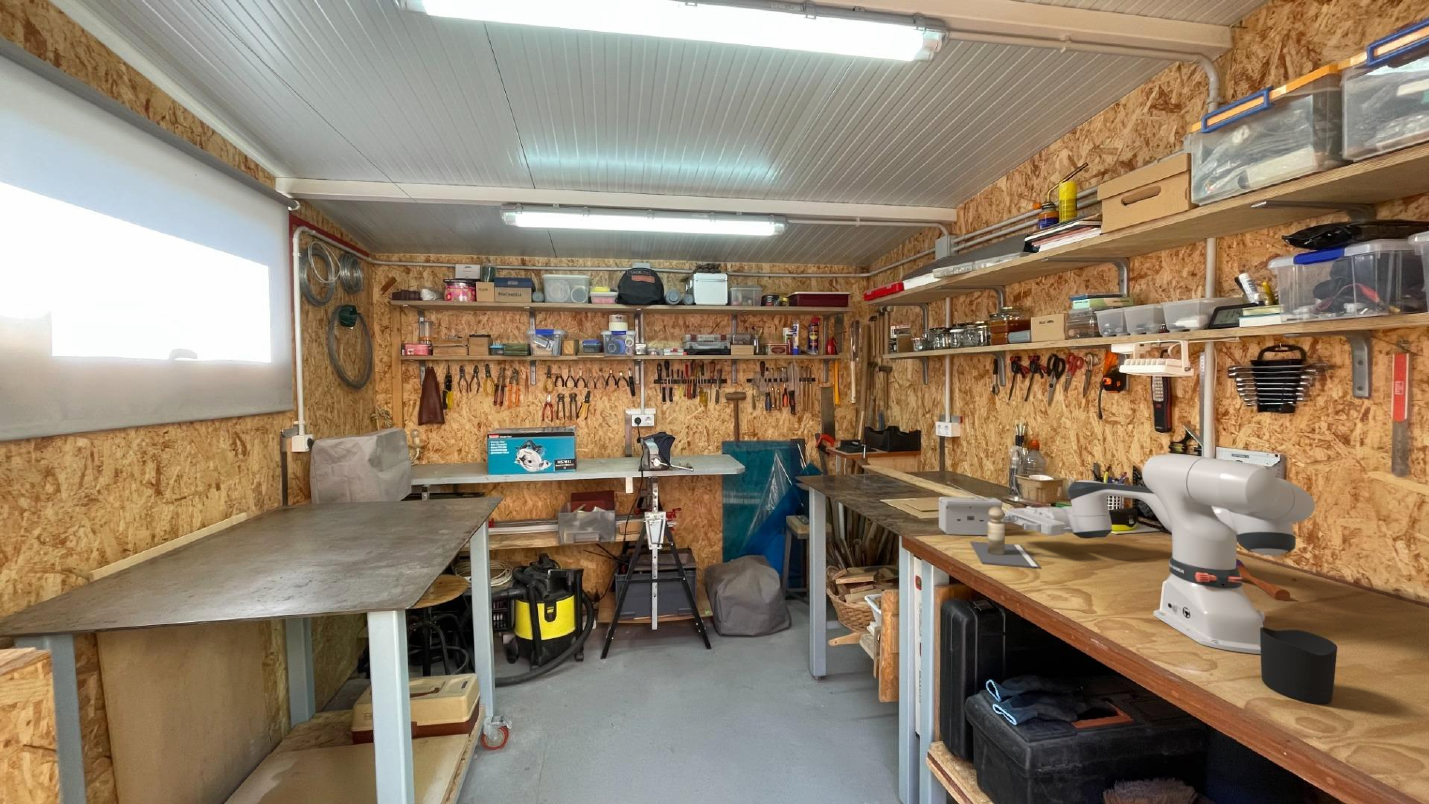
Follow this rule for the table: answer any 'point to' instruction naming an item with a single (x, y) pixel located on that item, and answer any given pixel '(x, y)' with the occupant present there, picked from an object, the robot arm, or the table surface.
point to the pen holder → (1298, 664)
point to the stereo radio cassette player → (965, 514)
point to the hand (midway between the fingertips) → (1012, 523)
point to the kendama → (1263, 583)
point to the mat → (1005, 556)
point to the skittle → (996, 532)
